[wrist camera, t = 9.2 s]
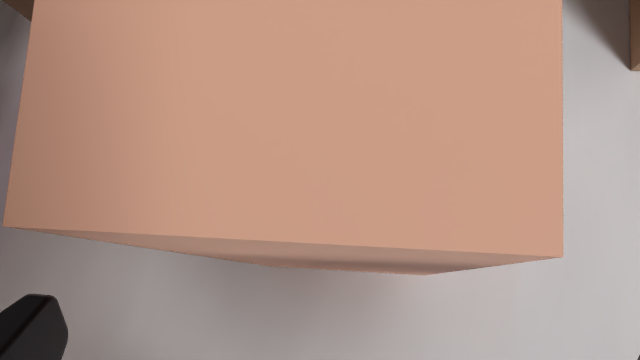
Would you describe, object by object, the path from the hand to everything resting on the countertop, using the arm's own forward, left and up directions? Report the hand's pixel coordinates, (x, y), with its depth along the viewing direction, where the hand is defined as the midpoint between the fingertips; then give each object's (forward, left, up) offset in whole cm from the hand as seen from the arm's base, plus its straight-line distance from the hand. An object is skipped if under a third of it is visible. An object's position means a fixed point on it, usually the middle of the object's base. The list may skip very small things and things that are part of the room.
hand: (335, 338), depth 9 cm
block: (+3, 0, -8) cm, 9 cm away
